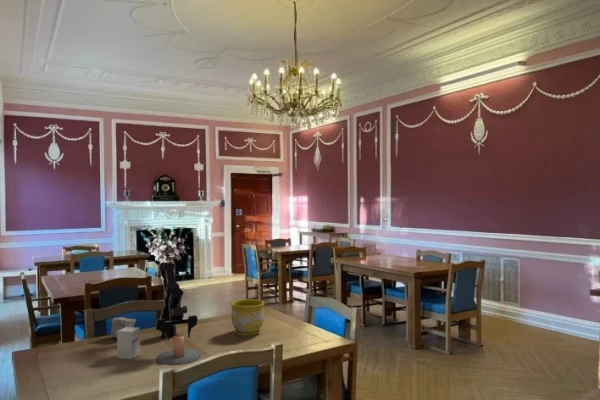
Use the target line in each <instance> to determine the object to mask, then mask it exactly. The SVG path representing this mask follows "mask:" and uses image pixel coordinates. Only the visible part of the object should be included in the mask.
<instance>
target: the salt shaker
mask: <svg viewBox="0 0 600 400" xmlns="http://www.w3.org/2000/svg"><path fill="white" fill-rule="evenodd" d="M172 340H173V341H172V342H173V344H172V346H173V347H172V350H173V357H174V358H181V357H184V349H185V335H183V334H176V335H175V336H173V337H172Z"/></svg>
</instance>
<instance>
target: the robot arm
mask: <svg viewBox="0 0 600 400" xmlns="http://www.w3.org/2000/svg"><path fill="white" fill-rule="evenodd" d="M157 267H158V272H159V275H160V277H161V279H162V281H163V282H162V283H163V285H162V287H163V304H164V305H163V308H162V310H161V312H160V313H161V314H160V316H159V317H160V318H157V320H156V321H155V322H156V323H155V330H156V331H159V332H161V335H160V336H159V337H160V338H166V339H167V340H166V341H170V338H172V339H173V337H174V336H176V335H178V334H177V327H176V325H184V324H185V325H186V324H187V337H188V339H190V337H191V332H192V328H193V329H194V327H196V326H197V323H198V321H199V320H198V319H199V318H198V315H188V317H187V318H184V315H185V314H187V313H188V306H187V305H183V306H182V305H181V302H182V300H183V296H184V291H183V289H182V288H181V287H180V283H177V281H176V275H175V274H176V273H175V271H176V268H177V267H176V263H174V262H173V261H165V262H160V264H158V266H157Z"/></svg>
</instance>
